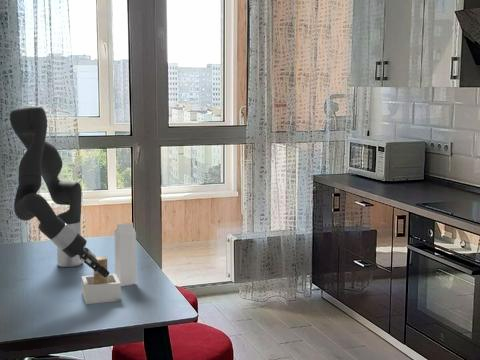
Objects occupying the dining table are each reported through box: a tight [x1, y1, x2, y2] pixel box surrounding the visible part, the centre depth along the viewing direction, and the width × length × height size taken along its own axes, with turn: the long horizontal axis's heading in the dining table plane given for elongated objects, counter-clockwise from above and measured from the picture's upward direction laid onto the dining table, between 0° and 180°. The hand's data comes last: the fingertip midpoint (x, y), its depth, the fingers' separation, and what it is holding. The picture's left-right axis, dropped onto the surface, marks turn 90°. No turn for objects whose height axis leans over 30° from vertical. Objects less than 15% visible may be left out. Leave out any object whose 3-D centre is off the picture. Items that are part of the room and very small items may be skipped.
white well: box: [81, 273, 122, 305], centre depth 204 cm, size 11×11×6 cm
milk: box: [114, 222, 137, 287], centre depth 219 cm, size 6×6×22 cm
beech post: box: [93, 255, 108, 284], centre depth 204 cm, size 4×4×10 cm
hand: (106, 273), depth 204 cm, fingers closed on beech post, 4 cm apart
